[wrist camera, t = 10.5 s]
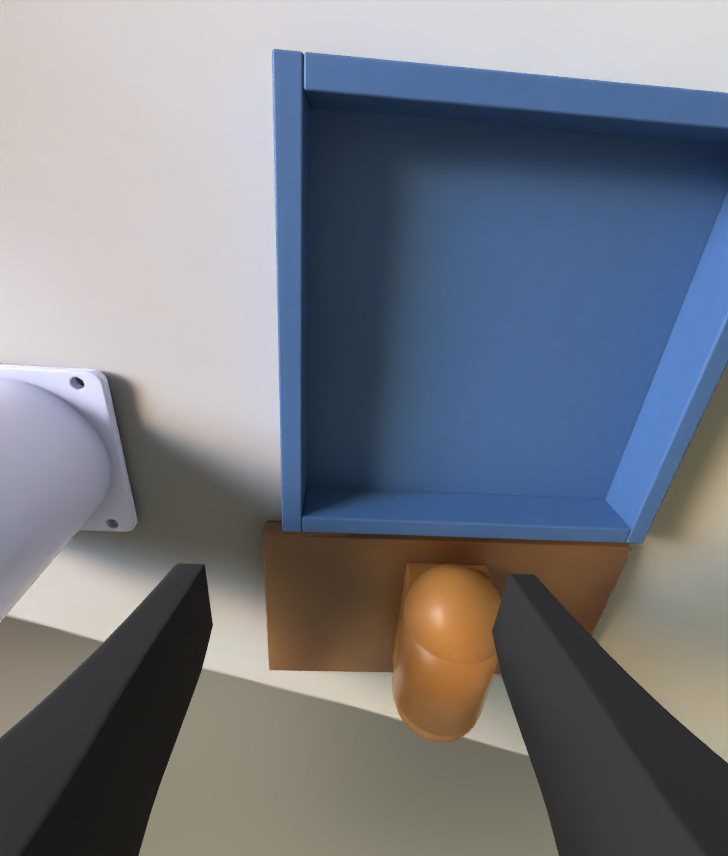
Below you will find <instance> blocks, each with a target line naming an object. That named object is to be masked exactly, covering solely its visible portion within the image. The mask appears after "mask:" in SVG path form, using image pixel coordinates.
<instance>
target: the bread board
mask: <svg viewBox="0 0 728 856" xmlns="http://www.w3.org/2000/svg"><path fill="white" fill-rule="evenodd" d="M631 550H632V547H631V546H630V544H629V543H626V542H624V543H612V542H584V541H556V540H528V539H499V538H471V537H443V536H414V535H386V534H358V533H329V532H304V531H302V530H301V532H295V531H283V529H282V522H266V524H265V528H264V531H263V555H264V575H265V596H266V616H267V636H268V657H269V670H293V671H350V672H394V666H393V652H394V646H395V639H396V632H397V626H398V619H399V613H400V606H401V600H402V593H403V587H404V580H405V573H406V567H407V563H432V564H463V565H486V566H487V568H488V570H489V573H490V576H491V578H492V583H491V584H492V585H493V586H494V588H495V589H496V590H497V592H498V594H499V596H500V598H501V600H502V596H503V593H504V590H505V586H506V583H507V580H508V576H509V574H531V575H535V576H536V577H537V578H538V579H539V580H540V581H541V582H542V584H543V585H544V586H545V587H546V588H547V589H548V590H549V591H550V592H551V593H552V594H553V596H554V597H555V598H556V599H557V600H558V601H559V602H560V603H561V604H562V605H563V606H564V608H565V609H566V610H567V611H568V612H569V613H570V614H571V615H572V616H573V617H574V618H575V619H576V621H577V622H578V623H579V624H580V625H581V626H582V627H583V628H584V629H585V630H586V631H587V632H588V633H589V634H590V635H591V637H592V634H593V632H594V630H595V628H596V626H597V623H598V621H599V619H600V617H601V615H602V613H603V610H604V608H605V606H606V604H607V602H608V600H609V597H610V595H611V593H612V591H613V589H614V586H615V584H616V582H617V580H618V578H619V576H620V573H621V571H622V569H623V567H624V565H625V563H626V560H627V558H628V556H629V554H630V552H631ZM494 674H501V670H500V666H499V662H497V665H496V668H495V671H494Z"/></svg>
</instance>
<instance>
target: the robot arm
mask: <svg viewBox="0 0 728 856" xmlns="http://www.w3.org/2000/svg"><path fill="white" fill-rule="evenodd" d="M76 377H78V378H80V379H81V380H83V382H84V386H82V385H80V384H79V383H78V382H77V381H76ZM111 519H112V520H115V521H116V522H117V523H116V522H113V521H112V520H111ZM136 524H137V515H136V510H135V506H134V501H133V496H132V492H131V487H130V482H129V478H128V473H127V468H126V464H125V459H124V454H123V450H122V445H121V440H120V436H119V431H118V426H117V422H116V417H115V412H114V408H113V403H112V398H111V394H110V389H109V384H108V381H107V378H106V377H105V375H104V374H103V373H101V372H100V371H98V370H94V369H83V368H64V367H46V366H28V365H9V364H0V622H1V621H2V619H3V618H4V617H5V616H6V615H7V614H8V612H9V611H10V610H11V609H12V608H13V606H14V605H15V604H16V603H17V602H18V601H19V599H20V598H21V597H22V596H23V595H24V594H25V592H26V591H27V590H28V589H29V588H30V586H31V585H32V584H33V583H34V582H35V581H36V579H37V578H38V577H39V576H40V575H41V573H42V572H43V571H44V570H45V569H46V568H47V566H48V565H49V564H50V563H51V562H52V561H53V559H54V558H55V557H56V556H57V555H58V553H59V552H60V551H61V550H62V549H63V548H64V546H65V545H66V544H67V543H68V542H69V540H70V539H71V538H72V537H73V536H74V535H75V533H76V532H77V531H78V530H85V531H114V532H129V531H131V530H133V529H134V527H135V526H136ZM212 626H213V623H212V616H211V608H210V601H209V593H208V586H207V578H206V571H205V564H177V565H176V566H174V567H173V568H172V569H171V571H170V572H169V573H168V574H167V575H166V576H165V577H164V578H163V580H162V581H161V582H160V583H159V584H158V585H157V586H156V587H155V588H154V590H153V591H152V592H151V593H150V594H149V595H148V596H147V597H146V598H145V599H144V601H143V602H142V603H141V604H140V605H139V606H138V607H137V608H136V609H135V610H134V611H133V612H132V614H131V615H130V616H129V617H128V618H127V619H126V620H125V621H124V622H123V623H122V624H121V625H120V626H119V627H118V628H117V629H116V630H115V631H114V632H113V633H112V634H111V635H110V636H109V637H108V638H107V639H106V641H105V642H104V643H103V644H102V645H101V646H100V647H99V648H98V649H97V650H96V651H95V652H94V653H93V654H92V655H91V656H90V657H89V658H87V660H85V662H83V663H82V664H81V665H80V666H79V667H78V668H77V669H76V670H75V671H74V672H73V673H72V674H71V675H70V676H69V677H68V678H67V679H66V680H65V681H63V682H62V683H61V684H60V685H59V686H58V687H57V688H56V689H55V690H54V691H53V692H52V693H51V694H50V695H49V696H47V697H46V698H45V699H44V700H43V701H42V702H41V703H40V704H39V705H37V706H36V707H35V708H34V709H33V710H32V711H31V712H30V713H29V714H27V715H26V716H25V717H24V718H23V719H22V720H20V721H19V722H18V723H17V724H16V725H15V726H13V727H12V728H11V729H10V730H9V731H8V732H7V733H6V734H4V735H3V736H2V737H1V738H0V856H138V855H139V852H140V848H141V844H142V841H143V837H144V833H145V830H146V827H147V823H148V820H149V816H150V813H151V810H152V807H153V804H154V801H155V797H156V794H157V791H158V788H159V785H160V783H161V780H162V777H163V774H164V771H165V769H166V766H167V764H168V761H169V758H170V755H171V753H172V750H173V747H174V744H175V742H176V739H177V736H178V734H179V731H180V728H181V725H182V723H183V720H184V717H185V715H186V712H187V709H188V707H189V704H190V701H191V698H192V695H193V693H194V690H195V687H196V684H197V682H198V679H199V676H200V673H201V670H202V666H203V662H204V659H205V655H206V651H207V647H208V643H209V639H210V634H211V630H212ZM492 635H493V639H494V644H495V649H496V653H497V658H498V662H499V666H500V670H501V675H502V678H503V681H504V684H505V687H506V690H507V693H508V696H509V699H510V702H511V705H512V708H513V711H514V714H515V717H516V719H517V722H518V725H519V728H520V731H521V734H522V737H523V740H524V742H525V745H526V748H527V751H528V754H529V757H530V759H531V762H532V765H533V768H534V771H535V774H536V777H537V780H538V783H539V785H540V789H541V792H542V795H543V798H544V802H545V805H546V808H547V811H548V815H549V819H550V822H551V826H552V830H553V834H554V838H555V842H556V846H557V849H558V853H559V856H728V763H727V762H726V761H724V760H723V759H722V758H721V757H720V756H718V755H717V754H716V753H715V752H714V751H712V750H711V749H710V748H709V747H708V746H707V745H706V744H704V743H703V742H702V741H701V740H700V739H699V738H697V737H696V736H695V735H694V734H693V733H692V732H690V731H689V730H688V729H687V728H686V727H685V726H683V725H682V724H681V723H680V722H679V721H678V720H677V719H676V718H674V717H673V716H672V715H671V714H670V713H669V712H668V711H667V710H666V709H665V708H663V707H662V706H661V705H660V704H659V703H658V702H657V701H656V700H655V699H654V698H653V697H652V696H651V695H650V694H649V693H648V692H647V691H645V690H644V689H643V688H642V687H641V686H640V685H639V684H638V683H637V682H636V681H635V680H634V679H633V678H632V677H631V676H630V675H629V674H628V673H627V672H626V671H625V670H624V669H623V668H622V667H621V666H620V665H619V664H618V663H617V662H616V661H615V660H614V659H613V658H612V657H611V656H610V655H609V654H608V653H607V652H606V651H605V650H604V649H603V648H602V647H601V646H600V645H599V644H598V643H597V642H596V641H595V640H594V639H593V638H592V637H591V635H590V634H589V633H588V632H587V631H586V630H585V629H584V628H583V627H582V626H581V625H580V624H579V623H578V622H577V621H576V619H575V618H574V617H573V616H572V615H571V614H570V613H569V612H568V611H567V610H566V609H565V608H564V606H563V605H562V604H561V603H560V602H559V601H558V600H557V599H556V598H555V597H554V596H553V594H552V593H551V592H550V591H549V590H548V589H547V588H546V587H545V586H544V585H543V584H542V582H541V581H540V580H539V579H538V578H537V577H536V576H535V575H531V574H509V576H508V580H507V583H506V586H505V590H504V593H503V596H502V600H501V603H500V606H499V610H498V613H497V616H496V619H495V623H494V626H493V629H492Z"/></svg>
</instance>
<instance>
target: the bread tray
mask: <svg viewBox="0 0 728 856" xmlns="http://www.w3.org/2000/svg"><path fill="white" fill-rule="evenodd" d="M272 74H273V119H274V165H275V211H276V256H277V302H278V347H279V393H280V438H281V484H282V529H283V531H295V532H301V530H302V531H304V532H329V533H358V534H386V535H414V536H443V537H471V538H499V539H528V540H556V541H584V542H612V543H624V542H626V543H643V541H644V539H645V537H646V535H647V532H648V530H649V528H650V526H651V524H652V522H653V520H654V518H655V515H656V513H657V511H658V509H659V507H660V505H661V503H662V501H663V498H664V496H665V494H666V492H667V490H668V488H669V486H670V484H671V481H672V479H673V477H674V475H675V473H676V471H677V469H678V467H679V464H680V462H681V460H682V458H683V456H684V454H685V452H686V450H687V447H688V445H689V443H690V441H691V439H692V437H693V435H694V433H695V430H696V428H697V426H698V424H699V422H700V420H701V418H702V416H703V413H704V411H705V409H706V407H707V405H708V403H709V401H710V399H711V397H712V394H713V392H714V390H715V388H716V386H717V384H718V382H719V380H720V377H721V375H722V373H723V371H724V369H725V367H726V365H727V363H728V93H723V92H713V91H702V90H692V89H682V88H671V87H661V86H651V85H640V84H630V83H620V82H609V81H599V80H589V79H578V78H568V77H558V76H547V75H537V74H527V73H516V72H506V71H496V70H485V69H475V68H465V67H454V66H444V65H434V64H423V63H413V62H403V61H392V60H382V59H372V58H361V57H351V56H341V55H330V54H320V53H309V52H306V53H305V54H304V55H303V53H302V52H299V51H289V50H279V49H274V50H273V51H272Z"/></svg>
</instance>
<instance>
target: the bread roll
mask: <svg viewBox="0 0 728 856" xmlns="http://www.w3.org/2000/svg"><path fill="white" fill-rule="evenodd" d="M491 583H492V578H491V576H490V573H489V570H488V568H487V566H486V565H463V564H432V563H407V567H406V573H405V580H404V587H403V593H402V600H401V606H400V613H399V619H398V626H397V632H396V639H395V646H394V652H393V666H394V672H393V679H392V692H393V698H394V702H395V705H396V707H397V710H398V713H399V715H400V716H401V718H402V720H403V721H404V722H405V724H406V725H407V726H408V727H409V728H410V729H411V730H412V731H413V732H415V733H416V734H417V735H419V736H420V737H422V738H424V739H426V740H429V741H433V742H441V743H445V742H451V741H455V740H458V739H459V738H461V737H462V736H464V735H465V734H467V733H468V732H469V731H470V730H471V729H472V728H473V727H474V725H475V724H476V722H477V720H478V718H479V716H480V714H481V711H482V708H483V705H484V702H485V699H486V696H487V693H488V690H489V686H490V683H491V680H492V677H493V674H494V671H495V668H496V665H497V662H498V658H497V653H496V649H495V644H494V639H493V635H492V629H493V626H494V623H495V619H496V616H497V613H498V610H499V606H500V603H501V598H500V596H499V594H498V592H497V590H496V589H495V588H494V586H493V585H492V584H491Z"/></svg>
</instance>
